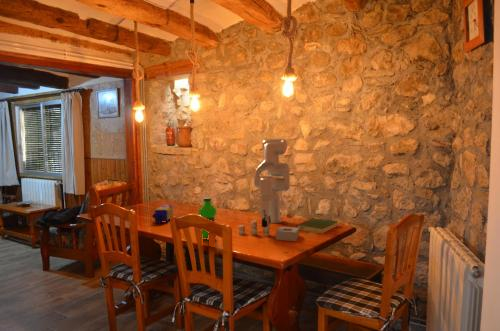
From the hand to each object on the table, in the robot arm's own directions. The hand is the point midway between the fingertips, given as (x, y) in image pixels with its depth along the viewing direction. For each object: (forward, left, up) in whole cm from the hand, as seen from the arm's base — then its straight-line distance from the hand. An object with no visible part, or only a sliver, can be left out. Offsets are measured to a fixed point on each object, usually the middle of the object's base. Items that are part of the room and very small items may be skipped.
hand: (266, 225), depth 232 cm
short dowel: (0, -16, -6) cm, 17 cm away
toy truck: (-23, -84, -7) cm, 88 cm away
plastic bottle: (+17, -32, -7) cm, 37 cm away
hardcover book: (-26, +29, -7) cm, 40 cm away
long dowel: (0, 0, -6) cm, 6 cm away
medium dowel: (0, -8, -6) cm, 10 cm away
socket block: (+3, +14, -6) cm, 16 cm away
